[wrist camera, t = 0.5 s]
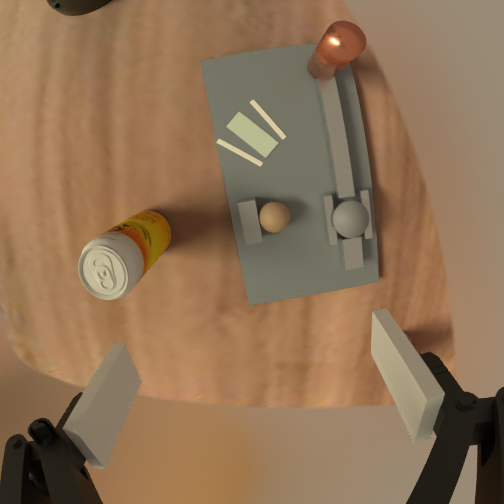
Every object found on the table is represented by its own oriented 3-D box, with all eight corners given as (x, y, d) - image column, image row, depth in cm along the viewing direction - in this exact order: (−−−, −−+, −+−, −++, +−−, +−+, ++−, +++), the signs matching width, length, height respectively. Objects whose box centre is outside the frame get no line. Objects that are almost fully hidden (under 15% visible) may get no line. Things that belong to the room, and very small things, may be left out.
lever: (370, 260, 40) (406, 297, 29) (330, 267, 40) (354, 309, 29) (340, 53, 32) (370, 21, 21) (295, 57, 32) (311, 22, 21)
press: (202, 63, 34) (195, 53, 29) (343, 45, 33) (353, 33, 28) (249, 301, 43) (249, 318, 39) (375, 278, 42) (388, 292, 38)
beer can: (165, 204, 40) (118, 233, 25) (178, 248, 41) (141, 297, 27) (124, 216, 40) (66, 249, 26) (138, 258, 42) (89, 308, 28)
